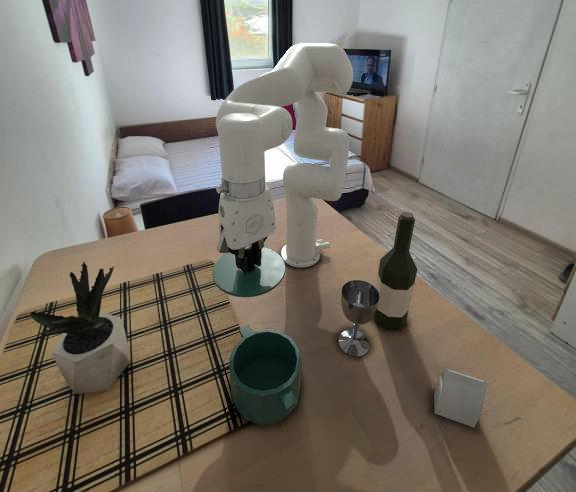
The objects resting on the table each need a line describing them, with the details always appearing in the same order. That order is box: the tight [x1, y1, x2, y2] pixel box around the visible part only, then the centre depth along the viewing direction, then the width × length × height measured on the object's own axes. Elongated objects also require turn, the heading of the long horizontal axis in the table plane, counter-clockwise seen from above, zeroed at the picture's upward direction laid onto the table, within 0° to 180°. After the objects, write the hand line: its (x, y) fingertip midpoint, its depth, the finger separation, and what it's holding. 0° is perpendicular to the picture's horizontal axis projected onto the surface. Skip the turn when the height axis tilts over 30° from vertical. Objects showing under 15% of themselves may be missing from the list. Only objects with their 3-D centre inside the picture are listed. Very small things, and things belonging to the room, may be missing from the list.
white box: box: [433, 367, 488, 429], centre depth 60 cm, size 4×7×10 cm, turn 69°
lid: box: [212, 243, 286, 298], centre depth 65 cm, size 15×15×7 cm
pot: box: [228, 324, 302, 426], centre depth 64 cm, size 14×19×8 cm
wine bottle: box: [373, 211, 418, 331], centre depth 76 cm, size 8×8×30 cm
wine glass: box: [338, 279, 379, 358], centre depth 72 cm, size 8×8×15 cm
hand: (249, 265), depth 65 cm, fingers closed on lid, 2 cm apart
